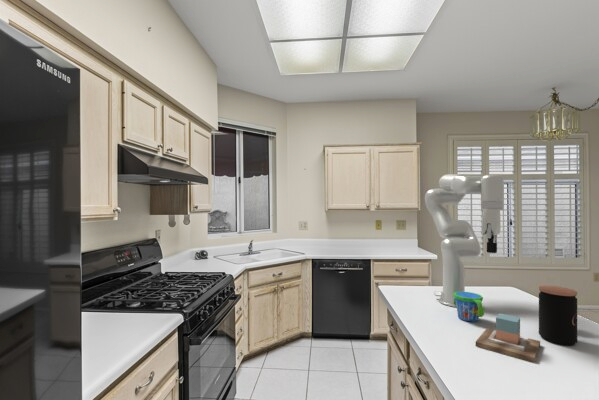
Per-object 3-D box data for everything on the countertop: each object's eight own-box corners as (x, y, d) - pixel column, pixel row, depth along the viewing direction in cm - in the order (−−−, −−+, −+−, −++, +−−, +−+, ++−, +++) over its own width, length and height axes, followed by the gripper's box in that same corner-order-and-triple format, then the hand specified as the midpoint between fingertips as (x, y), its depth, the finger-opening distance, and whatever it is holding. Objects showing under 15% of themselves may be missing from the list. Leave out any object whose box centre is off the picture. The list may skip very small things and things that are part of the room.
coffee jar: (580, 349, 104) (580, 295, 104) (540, 341, 110) (540, 290, 110) (574, 338, 113) (573, 288, 113) (537, 331, 119) (537, 284, 119)
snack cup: (446, 312, 139) (446, 289, 139) (469, 312, 139) (469, 289, 139) (466, 326, 123) (466, 300, 123) (492, 326, 124) (492, 300, 124)
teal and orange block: (495, 341, 106) (495, 317, 106) (499, 335, 111) (499, 313, 111) (517, 346, 102) (517, 322, 102) (520, 341, 107) (520, 317, 107)
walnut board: (475, 346, 106) (475, 338, 106) (486, 332, 118) (486, 325, 118) (534, 362, 95) (534, 354, 95) (540, 345, 107) (540, 338, 107)
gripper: (485, 206, 132) (485, 249, 132) (476, 206, 121) (476, 253, 121) (506, 206, 127) (506, 251, 127) (499, 206, 116) (498, 256, 116)
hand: (491, 252), depth 124 cm, fingers closed
